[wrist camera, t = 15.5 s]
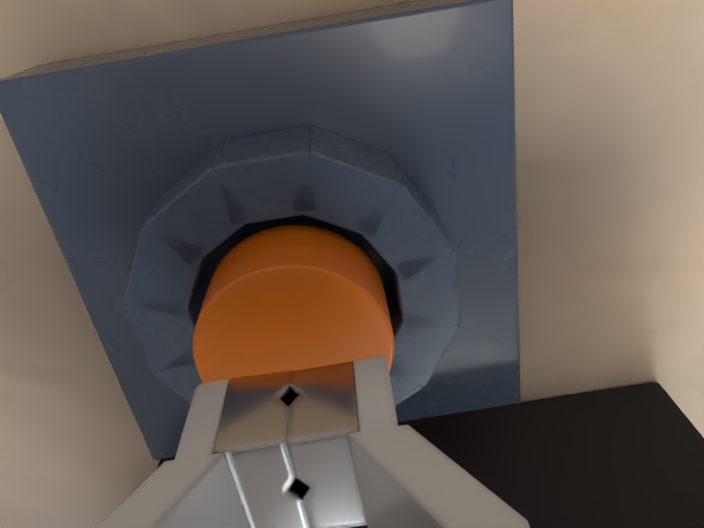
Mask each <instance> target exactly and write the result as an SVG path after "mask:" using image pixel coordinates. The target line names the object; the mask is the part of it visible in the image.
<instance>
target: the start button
mask: <svg viewBox="0 0 704 528" xmlns="http://www.w3.org/2000/svg"><path fill="white" fill-rule="evenodd" d="M192 348H193V358H194V362H195V365H196V369H197V371H198V374H199V376H200V378H201V380H202V382H203V383H204V382H211V381H218V380H224V379H232V378H238V377H245V376H253V375H260V374H268V373H275V372H283V371H290V370H293V371H294V370H300V369H307V368H313V367H319V366H325V365H332V364H338V363H344V362H351V361H354V360H356V359H361V358H366V357H372V356H377V355H383V354H384V355H385V357H386V359H387V364H388V370H389V372H390V370H391V367H392V363H393V359H394V351H395V344H394V334H393V329H392V325H391V320H390V315H389V310H388V305H387V301H386V296H385V291H384V287H383V282H382V280H381V277H380V275H379V272H378V270H377V269H376V267H375V265H374V263H373V262H372V261H371V260H370V258H369V257H368V256H367V255H366V254H365V253H364V252H363V251H362V250H361V249H360V248H359V247H358V246H357V245H355V244H354V243H352V242H351V241H350V240H348V239H346V238H344V237H343V236H341V235H339V234H336V233H334V232H331V231H329V230H326V229H322V228H318V227H313V226H306V225H286V226H278V227H273V228H269V229H265V230H263V231H260V232H257V233H255V234H253V235H251V236H249V237H247V238H245V239H243V240H242V241H241V242H239V243H238V244H236V245H235V246H234V247H233V248H232V249H231V250H229V251H228V252H227V253H226V255H225V256H224V257H223V258H222V259H221V261H220V262H219V264H218V266H217V267H216V269H215V271H214V273H213V276H212V278H211V281H210V284H209V287H208V289H207V292H206V295H205V298H204V301H203V304H202V307H201V310H200V313H199V316H198V319H197V322H196V325H195V330H194V334H193V345H192Z"/></svg>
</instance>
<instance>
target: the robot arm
mask: <svg viewBox="0 0 704 528" xmlns="http://www.w3.org/2000/svg"><path fill="white" fill-rule="evenodd" d="M364 525H367V526H368V528H530V526H529V524H528V521H527V520H526V519H525V518H524V517H522V516H521V515H520V514H519V513H518V512H516V511H515V510H514V509H513V508H511V507H510V506H509V505H508V504H506V503H505V502H504V501H503V500H501V499H500V498H499V497H498V496H496V495H495V494H494V493H493V492H491V491H490V490H489V489H488V488H486V487H485V486H484V485H483V484H481V483H480V482H479V481H478V480H476V479H475V478H474V477H473V476H471V475H470V474H469V473H468V472H466V471H465V470H464V469H463V468H461V467H460V466H459V465H458V464H456V463H455V462H454V461H453V460H451V459H450V458H449V457H448V456H446V455H445V454H444V453H443V452H441V451H440V450H439V449H438V448H437V447H435V446H434V445H433V444H432V443H430V442H429V441H428V440H427V439H425V438H424V437H423V436H422V435H420V434H419V433H418V432H417V431H415V430H414V429H413V428H412V427H410V426H409V425H401V426H398V422H397V416H396V410H395V404H394V399H393V393H392V387H391V382H390V376H389V370H388V364H387V359H386V357H385V355H384V354H383V355H377V356H372V357H366V358H361V359H356V360H354V361H351V362H344V363H338V364H332V365H325V366H319V367H313V368H307V369H300V370H294V371H293V370H290V371H283V372H275V373H268V374H260V375H253V376H245V377H238V378H232V379H224V380H218V381H211V382H204V383H200V384H199V385H198V386H197V387H196V389H195V392H194V395H193V399H192V402H191V405H190V409H189V412H188V416H187V419H186V422H185V426H184V429H183V433H182V436H181V439H180V443H179V446H178V450H177V453H176V456H175V460H170V461H165V462H164V463H163V464H162V465H161V466H160V467H159V468H157V469H156V470H155V471H154V472H153V473H152V474H151V475H150V476H149V477H148V478H147V479H146V480H145V481H144V482H143V483H142V484H141V485H140V486H139V487H137V488H136V489H135V490H134V491H133V492H132V493H131V494H130V495H129V496H128V497H127V498H126V499H125V500H124V501H123V502H122V503H121V504H120V505H119V506H118V507H116V508H115V509H114V510H113V511H112V512H111V513H110V514H109V515H108V516H107V517H106V518H105V519H104V520H103V521H102V522H101V523H100V524H99V525H98V526H96V527H95V528H348V527H356V526H364Z"/></svg>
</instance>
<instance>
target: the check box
mask: <svg viewBox="0 0 704 528" xmlns="http://www.w3.org/2000/svg"><path fill="white" fill-rule="evenodd" d="M0 112H1V114H2V117H3V119H4V121H5V124H6V126H7V128H8V130H9V133H10V135H11V137H12V140H13V142H14V144H15V146H16V149H17V151H18V153H19V155H20V158H21V160H22V162H23V165H24V167H25V169H26V171H27V174H28V176H29V178H30V180H31V183H32V185H33V187H34V190H35V192H36V194H37V196H38V199H39V201H40V203H41V205H42V208H43V210H44V212H45V215H46V217H47V219H48V221H49V224H50V226H51V228H52V231H53V233H54V235H55V237H56V240H57V242H58V244H59V246H60V249H61V251H62V253H63V256H64V258H65V260H66V262H67V265H68V267H69V269H70V271H71V274H72V276H73V278H74V281H75V283H76V285H77V287H78V290H79V292H80V294H81V296H82V299H83V301H84V303H85V306H86V308H87V310H88V312H89V315H90V317H91V319H92V322H93V324H94V326H95V328H96V331H97V333H98V335H99V337H100V340H101V342H102V344H103V347H104V349H105V351H106V353H107V356H108V358H109V360H110V362H111V365H112V367H113V369H114V372H115V374H116V376H117V378H118V381H119V383H120V385H121V387H122V390H123V392H124V394H125V397H126V399H127V401H128V403H129V406H130V408H131V410H132V413H133V415H134V417H135V419H136V422H137V424H138V426H139V428H140V431H141V433H142V435H143V438H144V440H145V442H146V444H147V447H148V449H149V451H150V453H151V456H152V458H153V459H154V460H158V459H165V458H171V457H175V456H176V453H177V450H178V446H179V443H180V439H181V436H182V433H183V429H184V426H185V422H186V419H187V416H188V412H189V409H190V405H191V402H192V399H193V395H194V392H195V389H196V387H197V386H198V385H199V384H200V383H203V382H202V380H201V378H200V376H199V374H198V371H197V369H196V365H195V362H194V358H193V348H192V345H193V334H194V330H195V325H196V322H197V319H198V316H199V313H200V310H201V307H202V304H203V301H204V298H205V295H206V292H207V289H208V287H209V284H210V281H211V278H212V276H213V273H214V271H215V269H216V267H217V266H218V264H219V262H220V261H221V259H222V258H223V257H224V256H225V255H226V253H227V252H228V251H229V250H231V249H232V248H233V247H234V246H235V245H236V244H238V243H239V242H241V241H242V240H243V239H245V238H247V237H249V236H251V235H253V234H255V233H257V232H260V231H263V230H265V229H269V228H273V227H278V226H286V225H306V226H313V227H318V228H322V229H326V230H329V231H331V232H334V233H336V234H339V235H341V236H343V237H344V238H346V239H348V240H350V241H351V242H352V243H354V244H355V245H357V246H358V247H359V248H360V249H361V250H362V251H363V252H364V253H365V254H366V255H367V256H368V257H369V258H370V260H371V261H372V262H373V263H374V265H375V267H376V269H377V270H378V272H379V275H380V277H381V280H382V282H383V287H384V291H385V296H386V301H387V305H388V310H389V315H390V320H391V325H392V329H393V334H394V344H395V351H394V359H393V363H392V367H391V370H390V372H389V376H390V382H391V387H392V393H393V399H394V404H395V410H396V416H397V422H404V421H410V420H417V419H423V418H430V417H436V416H442V415H449V414H455V413H462V412H468V411H475V410H481V409H488V408H494V407H501V406H507V405H513V404H518V403H520V354H519V301H518V247H517V194H516V140H515V86H514V33H513V0H417V1H411V2H405V3H399V4H393V5H388V6H382V7H376V8H370V9H364V10H358V11H353V12H347V13H341V14H335V15H329V16H323V17H318V18H312V19H306V20H300V21H294V22H288V23H283V24H277V25H271V26H265V27H259V28H253V29H248V30H242V31H236V32H230V33H224V34H218V35H213V36H207V37H201V38H195V39H189V40H183V41H178V42H172V43H166V44H160V45H154V46H148V47H143V48H137V49H131V50H125V51H119V52H113V53H108V54H102V55H96V56H90V57H84V58H78V59H73V60H67V61H61V62H55V63H49V64H43V65H38V66H35V67H33V68H30V69H27V70H24V71H22V72H19V73H16V74H13V75H10V76H8V77H5V78H2V79H0Z"/></svg>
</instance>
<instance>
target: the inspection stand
mask: <svg viewBox="0 0 704 528" xmlns="http://www.w3.org/2000/svg"><path fill="white" fill-rule="evenodd" d="M401 425H409V426H410V427H412V428H413V429H414V430H415V431H417V432H418V433H419V434H420V435H422V436H423V437H424V438H425V439H427V440H428V441H429V442H430V443H432V444H433V445H434V446H435V447H437V448H438V449H439V450H440V451H441V452H443V453H444V454H445V455H446V456H448V457H449V458H450V459H451V460H453V461H454V462H455V463H456V464H458V465H459V466H460V467H461V468H463V469H464V470H465V471H466V472H468V473H469V474H470V475H471V476H473V477H474V478H475V479H476V480H478V481H479V482H480V483H481V484H483V485H484V486H485V487H486V488H488V489H489V490H490V491H491V492H493V493H494V494H495V495H496V496H498V497H499V498H500V499H501V500H503V501H504V502H505V503H506V504H508V505H509V506H510V507H511V508H513V509H514V510H515V511H516V512H518V513H519V514H520V515H521V516H522V517H524V518H525V519H526V520H527V521H528V524H529V526H530V528H704V438H703V437H702V435H701V434H700V433H699V432H698V431H697V429H696V428H695V427H694V426H693V424H692V423H691V422H690V421H689V419H688V418H687V417H686V416H685V415H684V413H683V412H682V411H681V410H680V408H679V407H678V406H677V405H676V404H675V402H674V401H673V400H672V399H671V397H670V396H669V395H668V394H667V393H666V391H665V390H664V389H663V388H662V386H661V385H660V384H659V383H656V382H655V383H649V384H643V385H636V386H630V387H623V388H617V389H610V390H604V391H597V392H591V393H584V394H578V395H572V396H565V397H559V398H552V399H546V400H539V401H533V402H526V403H520V404H513V405H507V406H501V407H494V408H488V409H481V410H475V411H468V412H462V413H455V414H449V415H442V416H436V417H430V418H423V419H417V420H410V421H404V422H398V426H401ZM170 460H175V457H171V458H165V459H161V460H160V461H159V464H158V467H157V468H159V467H160V466H161V465H162V464H163V463H164V462H165V461H170ZM348 528H368V526H367V525H364V526H356V527H348Z"/></svg>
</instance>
